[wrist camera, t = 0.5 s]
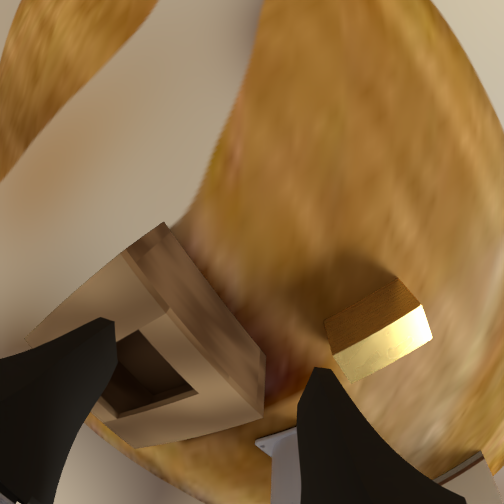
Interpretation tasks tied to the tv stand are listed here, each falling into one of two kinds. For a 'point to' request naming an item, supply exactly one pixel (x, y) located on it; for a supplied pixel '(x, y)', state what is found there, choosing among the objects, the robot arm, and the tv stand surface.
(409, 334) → the block
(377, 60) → the tv stand surface
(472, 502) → the stacked grey cubes
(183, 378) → the box
